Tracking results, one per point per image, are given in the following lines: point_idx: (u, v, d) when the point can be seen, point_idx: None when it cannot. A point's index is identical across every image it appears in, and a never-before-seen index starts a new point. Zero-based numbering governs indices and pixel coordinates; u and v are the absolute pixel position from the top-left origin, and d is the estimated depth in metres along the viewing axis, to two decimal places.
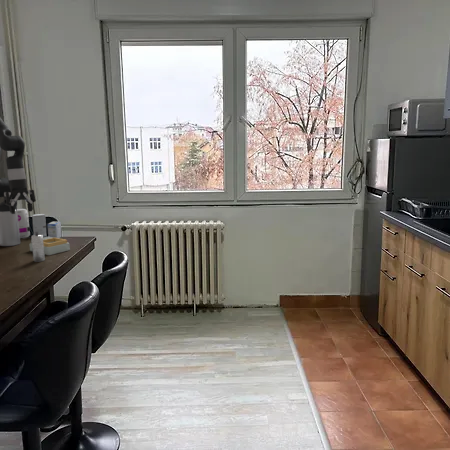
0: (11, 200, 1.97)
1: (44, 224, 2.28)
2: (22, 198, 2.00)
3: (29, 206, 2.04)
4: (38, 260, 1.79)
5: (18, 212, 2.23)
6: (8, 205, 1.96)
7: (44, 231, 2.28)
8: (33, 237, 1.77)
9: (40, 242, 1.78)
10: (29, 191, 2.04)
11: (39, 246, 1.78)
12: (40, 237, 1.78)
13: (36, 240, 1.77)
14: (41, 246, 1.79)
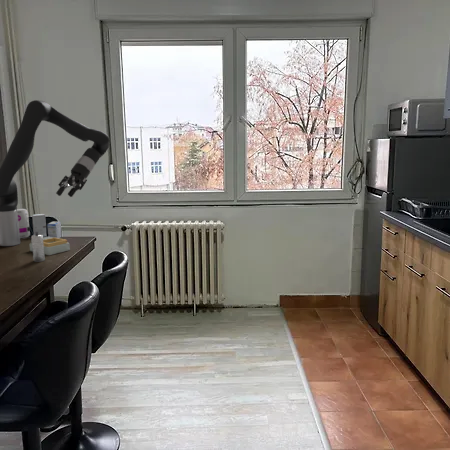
0: (76, 184, 1.88)
1: (44, 224, 2.28)
2: None
3: (61, 191, 1.91)
4: (38, 260, 1.79)
5: (18, 212, 2.23)
6: (76, 188, 1.86)
7: (44, 231, 2.28)
8: (33, 237, 1.77)
9: (40, 242, 1.78)
10: None
11: (39, 246, 1.78)
12: (40, 237, 1.78)
13: (36, 240, 1.77)
14: (41, 246, 1.79)
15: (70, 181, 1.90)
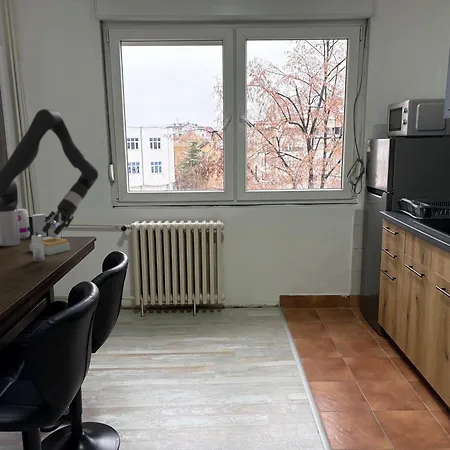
0: (63, 221, 1.84)
1: (44, 224, 2.28)
2: None
3: (48, 227, 1.87)
4: (38, 260, 1.79)
5: (18, 212, 2.23)
6: (62, 225, 1.82)
7: None
8: (33, 237, 1.77)
9: (40, 242, 1.78)
10: None
11: (39, 246, 1.78)
12: (40, 237, 1.78)
13: (36, 240, 1.77)
14: (41, 246, 1.79)
15: (56, 218, 1.86)
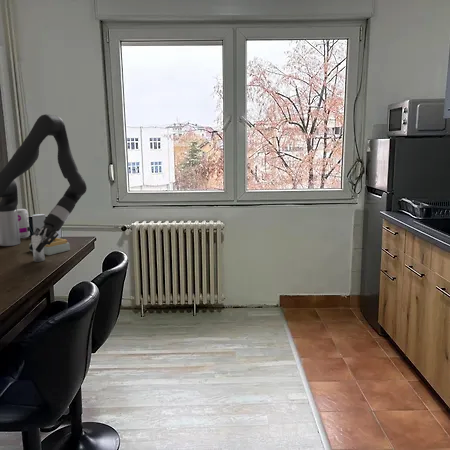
0: None
1: None
2: None
3: None
4: (38, 260, 1.79)
5: (18, 212, 2.23)
6: (44, 243, 1.78)
7: None
8: (33, 237, 1.77)
9: (40, 242, 1.78)
10: None
11: None
12: (40, 237, 1.78)
13: (36, 240, 1.77)
14: None
15: (42, 233, 1.81)
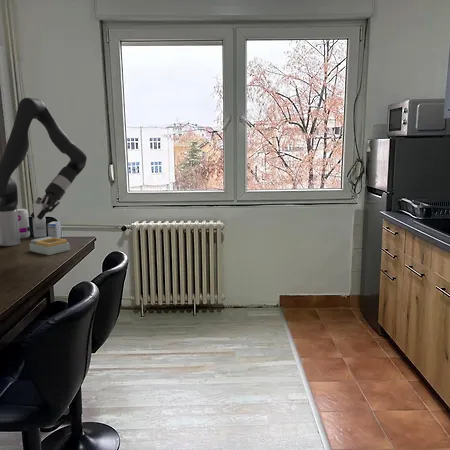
0: None
1: None
2: None
3: None
4: (39, 227, 1.82)
5: (18, 212, 2.23)
6: (46, 210, 1.81)
7: (44, 231, 2.28)
8: (35, 204, 1.80)
9: None
10: None
11: None
12: (41, 205, 1.81)
13: (37, 207, 1.80)
14: None
15: (44, 201, 1.84)
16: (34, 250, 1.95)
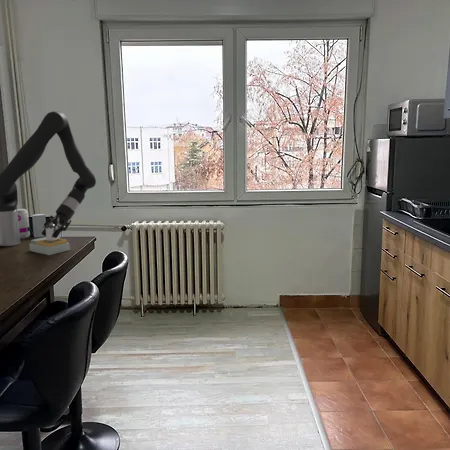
0: (61, 225, 1.95)
1: None
2: None
3: None
4: None
5: (18, 212, 2.23)
6: (60, 229, 1.93)
7: None
8: (47, 229, 1.93)
9: None
10: None
11: (53, 238, 1.94)
12: (53, 229, 1.94)
13: (50, 232, 1.93)
14: (54, 238, 1.95)
15: (55, 222, 1.97)
16: (34, 250, 1.95)
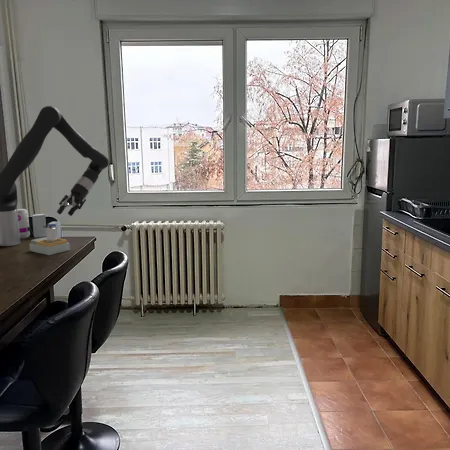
0: (76, 203, 2.00)
1: (44, 224, 2.28)
2: None
3: (62, 209, 2.04)
4: None
5: (18, 212, 2.23)
6: (76, 207, 1.98)
7: (44, 231, 2.28)
8: (47, 229, 1.93)
9: (53, 234, 1.94)
10: None
11: (53, 238, 1.94)
12: (53, 229, 1.94)
13: (50, 232, 1.93)
14: (54, 238, 1.95)
15: (70, 200, 2.02)
16: (34, 250, 1.95)
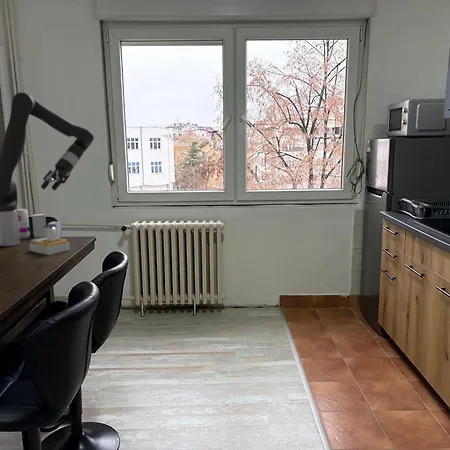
0: (60, 178, 1.98)
1: (44, 224, 2.28)
2: None
3: (46, 184, 2.01)
4: None
5: (18, 212, 2.23)
6: (59, 182, 1.96)
7: (44, 231, 2.28)
8: (47, 229, 1.93)
9: (53, 234, 1.94)
10: None
11: (53, 238, 1.94)
12: (53, 229, 1.94)
13: (50, 232, 1.93)
14: (54, 238, 1.95)
15: (54, 175, 2.00)
16: (34, 250, 1.95)
